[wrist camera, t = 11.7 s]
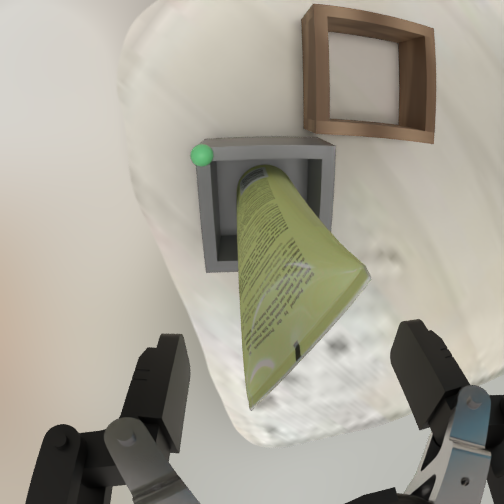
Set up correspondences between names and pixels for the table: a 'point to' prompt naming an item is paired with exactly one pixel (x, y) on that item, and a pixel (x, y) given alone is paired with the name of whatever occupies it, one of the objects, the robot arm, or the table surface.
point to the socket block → (232, 169)
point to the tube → (286, 278)
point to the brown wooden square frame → (410, 73)
